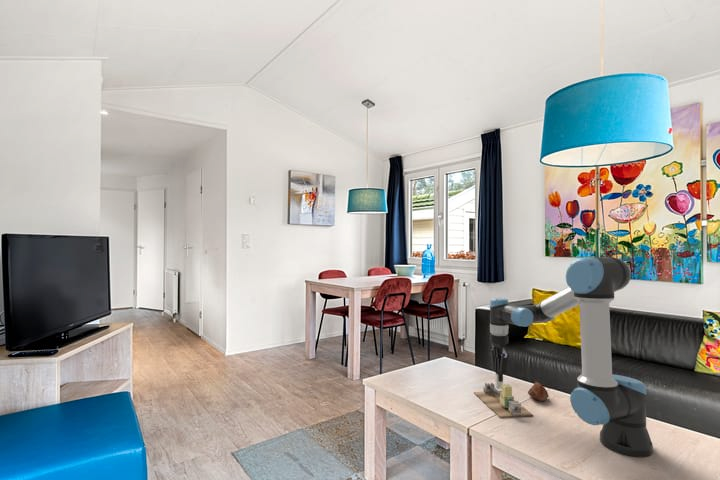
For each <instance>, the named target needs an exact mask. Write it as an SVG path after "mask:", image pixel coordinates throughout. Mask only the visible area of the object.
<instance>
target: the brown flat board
mask: <svg viewBox="0 0 720 480" xmlns="http://www.w3.org/2000/svg"><path fill="white" fill-rule="evenodd" d="M473 394H474V395H475V396H476V397H477V398H478V399H479V400H480V401H481V402H482V403H484V405H485V406H486V407H488V408H489V409H490V410H491V411H492V412H493V413H494V414H495V415H496V416H497V417H498V418H499V419H509V418H510V419H511V418H526V417H527V418H528V417H530V418H531V417H534V414H533V413H531V411H529V410H528V409H527V408H525V407H524V406H523V405H522V403H520V401H518V400H516V399H514V400H513V399H506V406H507V407H506V408H504V407H503V406H502V405H501V404H500V394H502V390H499V389H497V388H496V386H495V383H493V382H490V383H488V382H485V383H484V387H483V391H473Z"/></svg>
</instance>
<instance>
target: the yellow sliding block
mask: <svg viewBox="0 0 720 480" xmlns="http://www.w3.org/2000/svg"><path fill="white" fill-rule="evenodd" d="M501 391H502V394H500V404H501V405H502V406H503V407H504V408H506V407H507V406H506V399H513V400H515V397H514V396H513V386H511V385H510V384H507V383H506V384H504V383H503V385H502V389H501Z"/></svg>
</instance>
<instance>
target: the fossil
mask: <svg viewBox="0 0 720 480" xmlns="http://www.w3.org/2000/svg"><path fill="white" fill-rule="evenodd" d="M531 386H532V387H530V388H529V389H528V391H527V394H528V395H529V396H530V397H532V399H535V400H536V401H540V402H544V401H545V400H547V399H548V398H550V397H549V392H548V391H547V389H546V388H545V387H544V385H543V384H542V383H540V382H537V381H535V382H534V384H533V385H531Z"/></svg>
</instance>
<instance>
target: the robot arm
mask: <svg viewBox="0 0 720 480" xmlns="http://www.w3.org/2000/svg"><path fill="white" fill-rule="evenodd" d="M631 278H632V273H631V269H630V267H629V265H628V264H627V263H626V262H625V261H624V260H622V259H620V258H618V257H614V256H601V257H600V256H597V257H596V256H586V257H581V258H578V259H575V260H573V261H572V262H571V263H570V264H569V266H568V267H567V268H566V273H565V282H566V284H567V286H568V287H566V288H565V289H562V290H561V291H559V292H557V293H554V294H553V295H552V296H550V297H547V298H546V299H543V300H542V301H540V302H538V303H537V304H528V305H519V306H517V305H511V304H510V303H509V300H508V298H503V297H492V298H491V299H490V301H489V302H490V306H489V321H490V322H489V333H490V334H489V341H490V343H491V344H492V346H491V345H490V347H489V348H490V353H491V354H490V355H491V363H492V369H493V370H494V373H495V388H496V390H500V389H501V390H502V385H504V375H506V374H507V368H508V360H509V357H510V354H509V353H507V348H506V345H508V344H509V335H508V334H509V328H510V327H509V324H511V325H515V326H518V327H529V326H530V325H532V324H538V323H547V322H552V321H553V320H554V318H555V317H557V316H559V315H561V314H562V313H563V314H564V313H565V312H567V311H569V310H571V309H574V308H576V307H577V306H579V325H580V327H579V328H580V345H581V346H580V353H581V374H580V375H578V376H577V378H576V379H577V381H576V382H577V383H576V385H577V387H575V388H574V389H573V391H571V393H570V397H569V400H570V405H571V408H572V409H573V411H574V413H575V414H576V415H577V416H578V418H580V419H581V421H582V422H584V423H586V424H588V425H592V426H600V425H602V427H601V430H600V432H599V442H600V443H601V444H602V445H603V446H604V447H606V448H607V449H609V450H611V451H614V452H616V453H619V454H621V455H625V456H631V457H636V458H637V457H639V458H641V457H643V458H644V457H649V456H651V455H652V454H653V453H654V445H653V441H652V440H651V437H650V433H649V431H648V429H647V395H648V394H647V388H646V385H645V383H643V381H640V380H638V379H635V378H632V377H629V376H623V375H619V374H613V360H612V342H611V341H612V338H611V317H610V315H611V314H610V303H611V302H612V301H614V300H615V292H618V291H620V290H622V289H624V288H625V287H627V285H628V284H630V281H631Z"/></svg>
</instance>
